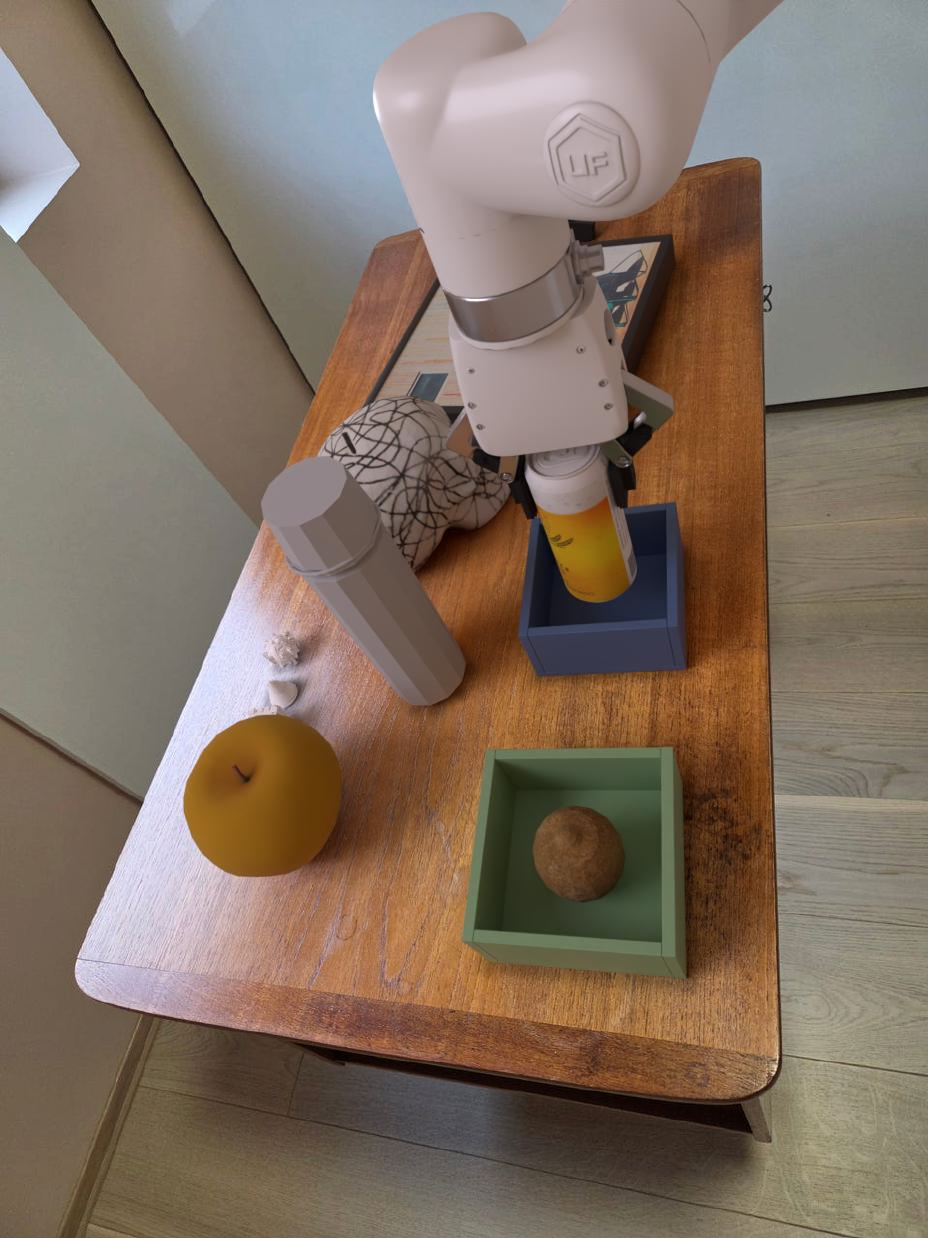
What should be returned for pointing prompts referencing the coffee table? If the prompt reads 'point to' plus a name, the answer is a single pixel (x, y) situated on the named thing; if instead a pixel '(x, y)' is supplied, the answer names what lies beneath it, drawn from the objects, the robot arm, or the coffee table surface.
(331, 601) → the water bottle
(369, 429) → the sculpture
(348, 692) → the coffee table surface
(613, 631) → the blue bin
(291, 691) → the seashells
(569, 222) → the lighter
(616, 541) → the beer can
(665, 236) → the framed painting
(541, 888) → the green bin
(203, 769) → the apple
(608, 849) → the fruit
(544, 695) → the coffee table surface
